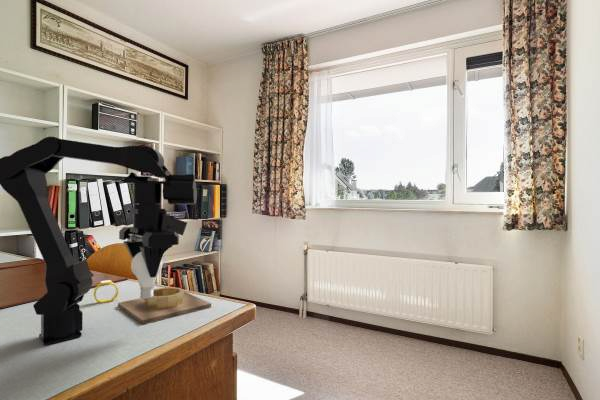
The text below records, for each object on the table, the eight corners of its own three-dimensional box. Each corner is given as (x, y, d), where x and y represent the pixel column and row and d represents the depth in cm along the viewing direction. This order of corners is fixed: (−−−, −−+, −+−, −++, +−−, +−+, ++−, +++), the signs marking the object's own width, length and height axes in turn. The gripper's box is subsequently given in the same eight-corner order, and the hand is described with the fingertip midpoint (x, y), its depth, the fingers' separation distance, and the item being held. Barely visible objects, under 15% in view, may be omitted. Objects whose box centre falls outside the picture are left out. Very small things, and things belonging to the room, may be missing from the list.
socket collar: (153, 311, 83) (153, 299, 83) (139, 302, 90) (139, 291, 90) (189, 303, 90) (189, 292, 90) (173, 295, 97) (174, 285, 97)
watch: (94, 305, 91) (93, 284, 91) (94, 303, 93) (92, 282, 93) (119, 300, 95) (117, 280, 94) (117, 298, 97) (116, 278, 97)
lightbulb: (124, 301, 72) (124, 250, 72) (149, 293, 77) (150, 247, 77) (143, 305, 69) (144, 252, 69) (168, 297, 74) (169, 249, 74)
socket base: (142, 324, 77) (142, 320, 77) (117, 306, 90) (117, 302, 90) (211, 306, 90) (211, 303, 90) (181, 293, 103) (181, 290, 103)
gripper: (202, 204, 72) (201, 275, 72) (165, 203, 85) (165, 263, 85) (149, 205, 64) (149, 285, 64) (118, 203, 77) (118, 270, 77)
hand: (147, 274), depth 73 cm, fingers closed on lightbulb, 6 cm apart
